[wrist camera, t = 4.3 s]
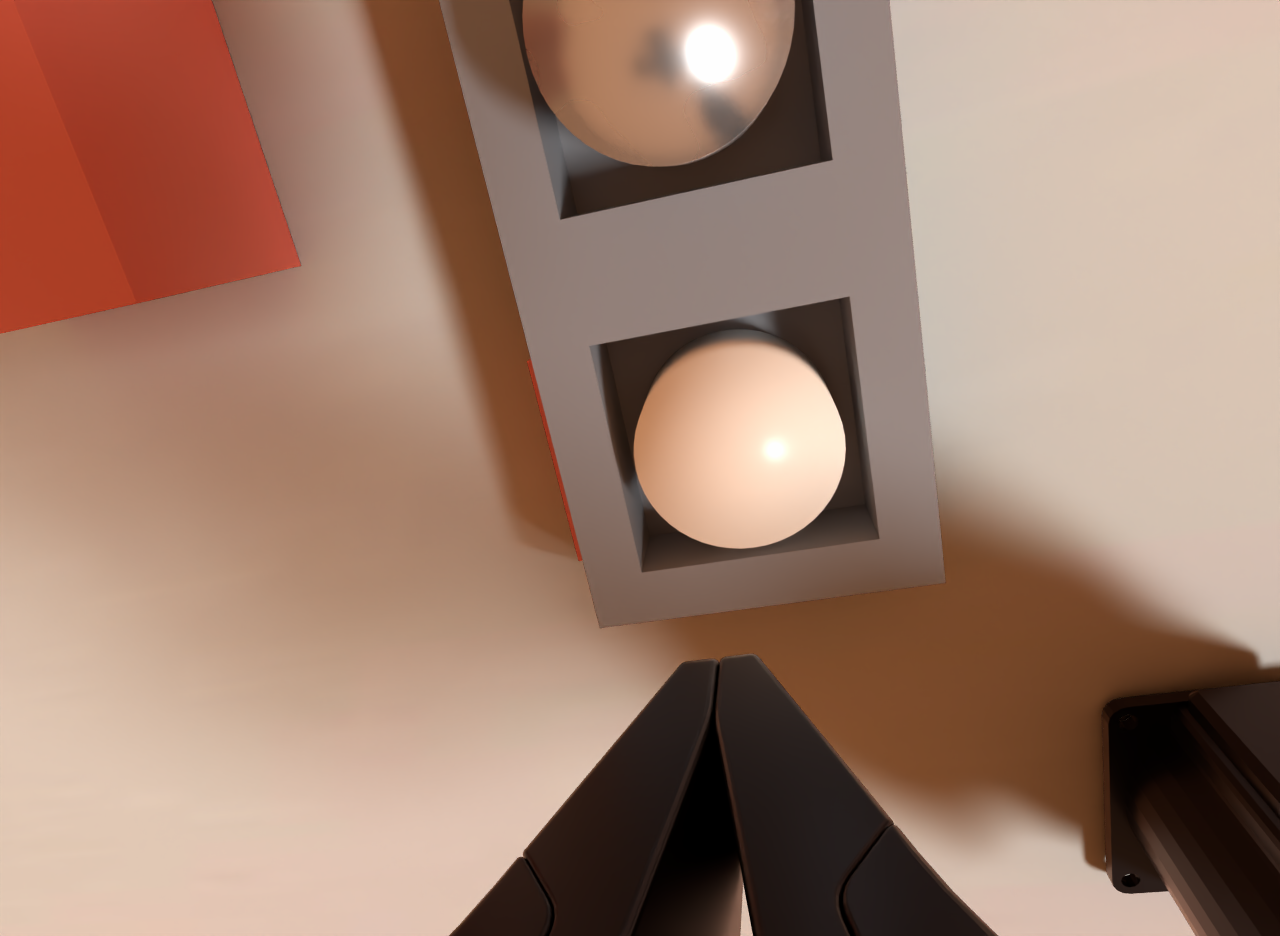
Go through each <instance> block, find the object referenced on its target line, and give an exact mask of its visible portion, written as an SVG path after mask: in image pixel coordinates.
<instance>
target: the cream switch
mask: <svg viewBox="0 0 1280 936" xmlns="http://www.w3.org/2000/svg"><path fill="white" fill-rule="evenodd" d="M845 451H846V447H845V434H844V430H843V425H842V421H841V418H840V416H839V413H838V410H837V408H836V406H835V403H834V401H833V399H832V397H831V394H830V392H829V390H828V388H827V385H826V383H825V381H824V380H823V378H822V376H821V374H820V372H819V371H818V369H817V368H816V367H815V365H814V364H813V363H812V361H811V360H810V359H809V358H808V357H807V356H806V355H805V354H804V353H802V352H801V351H800V350H799V349H797V348H796V347H795V346H793V345H792V344H790V343H788V342H787V341H785V340H783V339H781V338H779V337H776V336H774V335H771V334H768V333H764V332H761V331H754V330H747V329H732V330H724V331H718V332H715V333H711V334H707V335H705V336H702V337H700V338H697V339H695V340H694V341H692V342H690V343H688V344H686V345H685V346H684V347H682V348H681V349H680V350H678V351H677V352H676V353H675V354H674V355H673V356H671V357H670V358H669V359H668V360H667V361H666V363H665V364H664V365H663V367H662V368H661V369H660V370H659V372H658V374H657V375H656V377H655V379H654V380H653V383H652V385H651V387H650V390H649V392H648V395H647V398H646V400H645V403H644V406H643V409H642V412H641V414H640V417H639V420H638V424H637V428H636V431H635V439H634V461H635V467H636V472H637V476H638V479H639V482H640V485H641V487H642V489H643V491H644V493H645V495H646V497H647V498H648V500H649V502H650V503H651V505H652V506H653V507H654V509H655V510H656V511H657V512H658V513H659V515H660V516H661V517H662V518H664V519H665V520H666V521H667V522H668V523H669V524H670V525H671V526H673V527H674V528H676V529H677V530H678V531H680V532H682V533H683V534H685V535H687V536H689V537H690V538H693V539H695V540H698V541H700V542H703V543H706V544H710V545H713V546H718V547H725V548H740V549H742V548H754V547H760V546H765V545H769V544H772V543H775V542H778V541H781V540H783V539H785V538H787V537H789V536H791V535H793V534H795V533H797V532H798V531H800V530H801V529H803V528H804V527H806V526H807V525H808V524H809V523H810V522H812V521H813V520H814V519H815V518H816V517H817V516H818V515H819V514H820V513H821V512H822V511H823V509H824V508H825V507H826V505H827V504H828V503H829V501H830V500H831V498H832V496H833V494H834V493H835V491H836V489H837V487H838V484H839V481H840V479H841V476H842V472H843V467H844V463H845Z"/></svg>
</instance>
